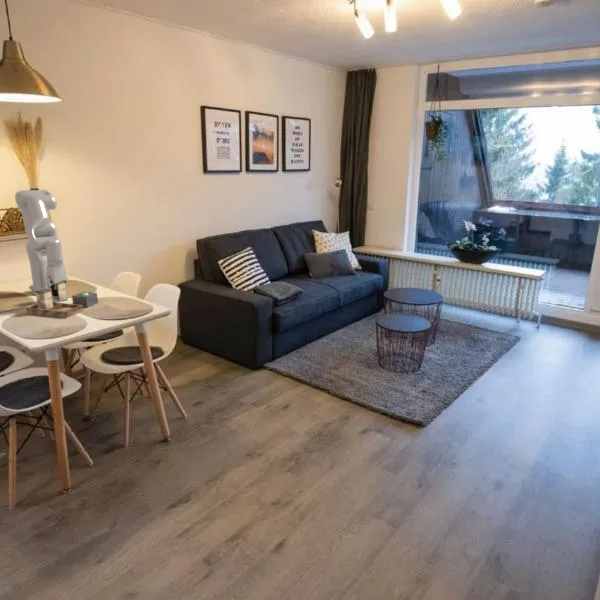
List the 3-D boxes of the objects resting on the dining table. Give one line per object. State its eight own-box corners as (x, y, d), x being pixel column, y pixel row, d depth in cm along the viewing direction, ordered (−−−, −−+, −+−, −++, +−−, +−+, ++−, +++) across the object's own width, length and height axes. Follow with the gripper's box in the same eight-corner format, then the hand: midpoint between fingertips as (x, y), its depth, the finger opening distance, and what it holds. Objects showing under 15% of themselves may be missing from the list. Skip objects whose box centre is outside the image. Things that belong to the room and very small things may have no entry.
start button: (79, 302, 265) (78, 294, 264) (84, 300, 269) (83, 292, 268) (86, 303, 264) (85, 294, 263) (90, 301, 268) (89, 292, 267)
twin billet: (38, 309, 253) (35, 290, 250) (45, 306, 258) (42, 288, 255) (46, 310, 252) (43, 291, 249) (53, 307, 256) (50, 289, 254)
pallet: (27, 313, 250) (26, 308, 249) (45, 306, 262) (44, 301, 262) (66, 317, 245) (66, 312, 244) (83, 310, 257) (83, 305, 256)
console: (73, 306, 264) (71, 295, 262) (84, 301, 272) (82, 291, 271) (87, 307, 262) (86, 297, 260) (97, 303, 270) (96, 292, 269)
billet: (51, 299, 263) (49, 281, 260) (58, 297, 268) (56, 279, 265) (59, 300, 262) (57, 282, 259) (66, 298, 267) (64, 280, 264)
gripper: (60, 258, 267) (63, 289, 273) (37, 265, 252) (41, 298, 257) (72, 259, 266) (75, 291, 271) (49, 266, 250) (53, 299, 255)
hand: (58, 294), depth 264 cm, fingers closed on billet, 5 cm apart
